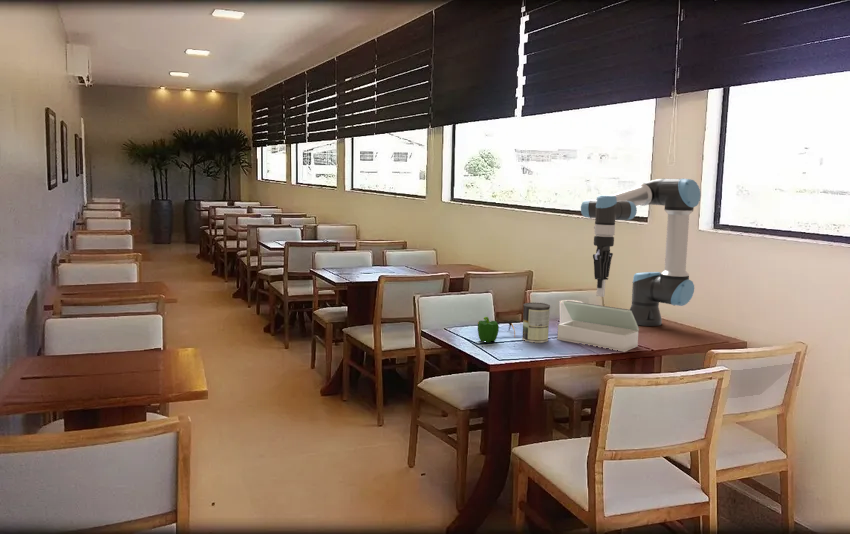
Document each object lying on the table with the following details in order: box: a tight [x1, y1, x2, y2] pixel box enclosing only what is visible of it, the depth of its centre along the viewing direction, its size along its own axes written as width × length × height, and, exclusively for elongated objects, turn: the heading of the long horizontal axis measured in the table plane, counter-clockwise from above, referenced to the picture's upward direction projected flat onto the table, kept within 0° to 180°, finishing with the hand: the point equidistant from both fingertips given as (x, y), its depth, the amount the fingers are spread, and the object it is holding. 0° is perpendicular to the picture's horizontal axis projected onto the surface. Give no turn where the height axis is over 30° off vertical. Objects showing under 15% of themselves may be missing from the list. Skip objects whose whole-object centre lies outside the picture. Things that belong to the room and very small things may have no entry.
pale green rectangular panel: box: [563, 301, 640, 332], centre depth 268 cm, size 12×28×1 cm
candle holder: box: [559, 299, 584, 324], centre depth 290 cm, size 10×10×12 cm
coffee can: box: [522, 302, 551, 344], centre depth 269 cm, size 10×10×14 cm
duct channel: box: [556, 320, 639, 353], centre depth 267 cm, size 12×28×6 cm, turn 50°
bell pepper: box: [477, 316, 500, 343], centre depth 265 cm, size 8×8×10 cm
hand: (600, 296), depth 266 cm, fingers closed
